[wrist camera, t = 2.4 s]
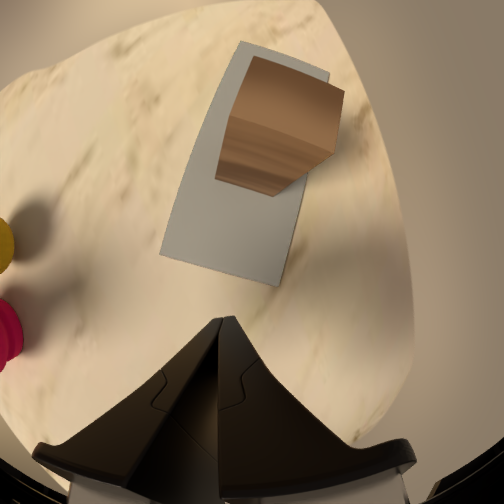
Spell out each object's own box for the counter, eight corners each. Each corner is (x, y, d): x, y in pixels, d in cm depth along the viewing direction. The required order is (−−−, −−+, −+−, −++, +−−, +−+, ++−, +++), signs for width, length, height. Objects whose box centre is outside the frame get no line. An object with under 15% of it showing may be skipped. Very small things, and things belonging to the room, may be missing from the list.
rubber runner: (277, 286, 23) (278, 287, 22) (159, 254, 21) (159, 254, 21) (328, 73, 24) (329, 72, 24) (240, 42, 22) (240, 40, 22)
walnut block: (272, 197, 22) (333, 153, 12) (214, 179, 21) (229, 115, 11) (283, 155, 23) (344, 91, 12) (228, 136, 22) (253, 55, 11)
